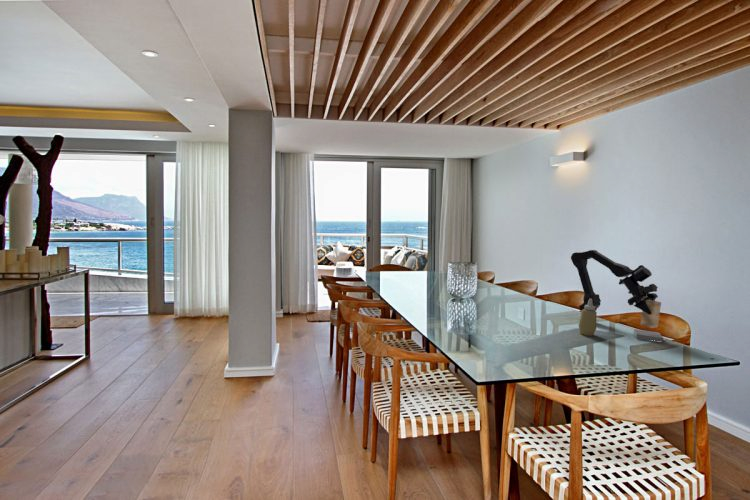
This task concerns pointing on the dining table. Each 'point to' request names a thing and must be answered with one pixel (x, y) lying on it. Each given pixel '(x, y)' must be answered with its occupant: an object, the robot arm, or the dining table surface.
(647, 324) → the oak block
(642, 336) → the slate base
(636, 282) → the robot arm
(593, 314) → the squeeze bottle
